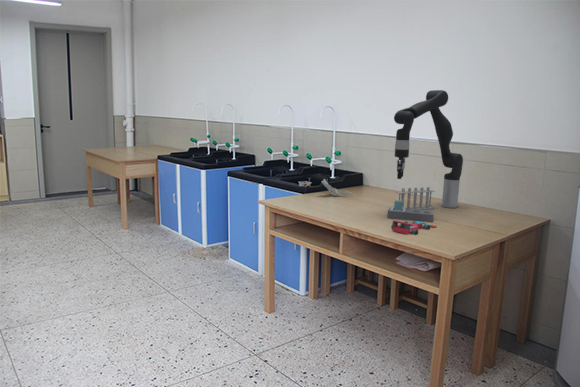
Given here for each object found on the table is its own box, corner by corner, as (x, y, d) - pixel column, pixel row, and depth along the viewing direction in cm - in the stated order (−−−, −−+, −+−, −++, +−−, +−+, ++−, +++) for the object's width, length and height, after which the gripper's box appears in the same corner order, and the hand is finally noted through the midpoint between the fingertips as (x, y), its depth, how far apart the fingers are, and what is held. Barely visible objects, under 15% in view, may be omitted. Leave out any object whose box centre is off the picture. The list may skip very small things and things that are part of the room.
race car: (441, 217, 245) (411, 224, 229) (440, 229, 246) (410, 237, 230) (418, 212, 255) (388, 219, 240) (417, 223, 256) (387, 230, 241)
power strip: (389, 214, 275) (390, 206, 274) (433, 218, 267) (433, 210, 267) (387, 217, 266) (387, 210, 265) (432, 222, 258) (433, 214, 257)
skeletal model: (357, 196, 327) (337, 173, 313) (349, 207, 324) (329, 184, 311) (341, 192, 340) (322, 169, 326) (334, 202, 337) (314, 180, 323)
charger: (394, 213, 271) (395, 200, 270) (402, 214, 270) (403, 200, 268) (393, 215, 267) (394, 201, 266) (401, 216, 266) (402, 201, 265)
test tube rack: (398, 211, 283) (400, 189, 281) (394, 209, 287) (396, 188, 285) (433, 208, 292) (435, 187, 290) (429, 207, 296) (430, 186, 294)
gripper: (407, 149, 254) (405, 180, 257) (410, 147, 267) (408, 176, 270) (393, 149, 256) (391, 179, 259) (396, 146, 270) (394, 175, 273)
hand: (400, 177), depth 265 cm, fingers open, 8 cm apart
